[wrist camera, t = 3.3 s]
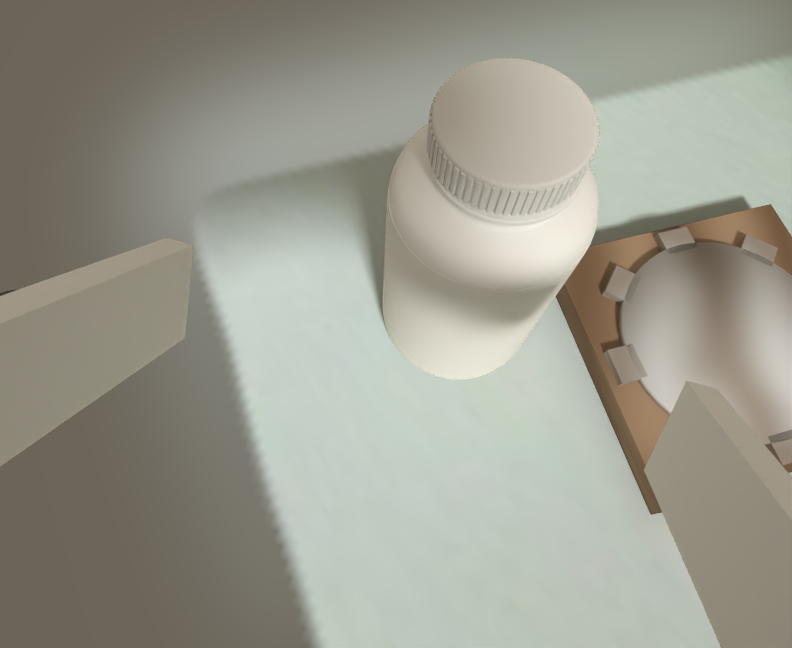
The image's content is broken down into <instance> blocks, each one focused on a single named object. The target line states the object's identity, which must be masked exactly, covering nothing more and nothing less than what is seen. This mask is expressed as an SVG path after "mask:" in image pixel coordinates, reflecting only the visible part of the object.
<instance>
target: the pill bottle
mask: <svg viewBox="0 0 792 648" xmlns="http://www.w3.org/2000/svg"><path fill="white" fill-rule="evenodd" d="M599 136H600V132H599V125H598V119H597V116H596V113H595V110H594V108H593V105H592V104H591V102H590V100H589V98H588V97H587V96H586V94H585V93H584V92H583V91H582V89H581V88H580V87H579V86H578V85H577V84H576V83H574V82H573V81H572V80H571V79H570V78H568V77H567V76H565V75H564V74H562V73H561V72H559V71H557V70H555V69H553V68H551V67H548V66H546V65H543V64H540V63H537V62H534V61H529V60H524V59H517V58H497V59H490V60H485V61H481V62H478V63H475V64H472V65H470V66H467V67H465V68H464V69H462V70H460V71H459V72H457V73H456V74H454V75H453V76H452V77H451V78H449V80H448V81H446V82H445V83H444V85H443V86H442V87H441V88H440V91H438V92H437V94H436V97H435V98H434V100H433V103H432V106H431V110H430V117H429V124H427V125H426V126H425V127H423V128H422V129H421V130H420V131H418V132H417V133H416V134H415V135H414V136H413V137H412V139H411V140H410V141H409V142H408V143H407V145H406V146H405V147H404V149H403V150H402V152H401V154H400V155H399V157H398V159H397V161H396V163H395V165H394V167H393V170H392V172H391V176H390V180H389V185H388V194H387V212H386V236H385V259H384V282H383V316H384V321H385V325H386V329H387V332H388V334H389V336H390V339H391V340H392V342H393V344H394V345H395V347H396V348H397V350H398V351H399V352H400V353H401V354H402V356H403V357H404V358H405V359H407V360H408V361H409V362H410V363H411V364H413V365H414V366H416V367H417V368H419V369H421V370H422V371H424V372H427V373H429V374H431V375H434V376H437V377H441V378H447V379H470V378H476V377H479V376H483V375H485V374H488V373H490V372H492V371H494V370H496V369H497V368H499V367H500V366H502V365H503V364H504V363H506V362H507V361H508V360H509V359H510V358H511V357H512V356H513V355H514V354H515V353H516V352H517V351H518V349H519V348H520V346H521V345H522V344H523V342H524V341H525V339H526V338H527V336H528V335H529V334H530V332H531V331H532V329H533V328H534V326H535V325H536V323H537V322H538V321H539V319H540V318H541V316H542V315H543V313H544V312H545V311H546V309H547V308H548V306H549V305H550V303H551V302H552V301H553V299H554V298H555V296H556V295H557V293H558V292H559V291H560V289H561V288H562V286H563V285H564V283H565V282H566V280H567V279H568V278H569V276H570V275H571V273H572V272H573V270H574V269H575V268H576V266H577V265H578V263H579V262H580V260H581V259H582V257H583V256H584V254H585V253H586V251H587V249H588V247H589V245H590V243H591V241H592V239H593V236H594V234H595V230H596V226H597V220H598V211H599V198H598V189H597V184H596V181H595V177H594V174H593V172H592V169H591V167H590V164H591V162H592V160H593V158H594V156H595V154H596V150H597V148H598V143H599Z"/></svg>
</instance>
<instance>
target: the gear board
mask: <svg viewBox="0 0 792 648" xmlns="http://www.w3.org/2000/svg"><path fill="white" fill-rule="evenodd" d="M556 297H557V299H558V302H559V304H560V306H561V309H562V311H563V313H564V316H565V318H566V320H567V322H568V325H569V327H570V329H571V332H572V334H573V336H574V338H575V341H576V343H577V345H578V348H579V350H580V352H581V355H582V357H583V359H584V361H585V364H586V366H587V368H588V371H589V373H590V375H591V378H592V380H593V382H594V384H595V387H596V389H597V391H598V394H599V396H600V398H601V401H602V403H603V405H604V407H605V410H606V412H607V414H608V417H609V419H610V421H611V423H612V426H613V428H614V430H615V433H616V435H617V437H618V440H619V442H620V444H621V446H622V449H623V451H624V453H625V456H626V458H627V460H628V463H629V465H630V467H631V469H632V472H633V474H634V476H635V479H636V481H637V483H638V485H639V488H640V490H641V492H642V495H643V497H644V499H645V502H646V504H647V506H648V508H649V511H650V513H651V514H656V513H661V512H662V511H661V508H660V506H659V504H658V501H657V499H656V497H655V494H654V492H653V490H652V488H651V485H650V483H649V481H648V478H647V476H646V474H645V472H644V469H645V467H646V464H647V462H648V460H649V458H650V456H651V454H652V452H653V450H654V448H655V446H656V443H657V441H658V439H659V437H660V435H661V433H662V431H663V429H664V427H665V425H666V422H667V420H668V418H669V416H670V414H671V412H672V410H673V408H674V406H675V403H676V401H677V399H678V397H679V395H680V393H681V391H682V389H683V387H684V385H685V382H686V380H687V381H690V382H694V383H698V384H701V385H705V386H708V387H712V388H716V389H718V390H719V392H720V393H721V394H722V395H723V396H724V398H725V399H726V400H727V401H728V402H729V403H730V405H731V406H732V407H733V408H734V409H735V411H736V412H737V413H738V414H739V415H740V416H741V418H742V419H743V420H744V421H745V422H746V424H747V425H748V426H749V427H750V428H751V429H752V431H753V432H754V433H755V434H756V435H757V437H758V438H759V439H760V440H761V441H762V442H763V444H764V445H765V446H766V447H767V448H768V450H769V451H770V452H771V453H772V454H773V455H774V457H775V458H776V459H777V460H778V461H779V463H780V464H781V465H782V466H783V467H784V468H785V470H786V471H787V472H788V473H790V472H792V236H791V235H790V233H789V232H788V230H787V229H786V227H785V226H784V224H783V222H782V221H781V219H780V218H779V216H778V215H777V213H776V212H775V210H774V209H773V207H772V205H771V204H770V205H765V206H761V207H757V208H752V209H748V210H744V211H740V212H735V213H731V214H727V215H722V216H718V217H714V218H710V219H705V220H701V221H697V222H693V223H688V224H684V225H680V226H675V227H671V228H667V229H663V230H658V231H654V232H650V233H645V234H641V235H637V236H633V237H628V238H624V239H620V240H615V241H611V242H607V243H603V244H598V245H594V246H590V247H588V249H587V251H586V253H585V254H584V256H583V257H582V259H581V260H580V262H579V263H578V265H577V266H576V268H575V269H574V270H573V272H572V273H571V275H570V276H569V278H568V279H567V280H566V282H565V283H564V285H563V286H562V288H561V289H560V291H559V292H558V293H557V295H556Z"/></svg>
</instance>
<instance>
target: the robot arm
mask: <svg viewBox="0 0 792 648" xmlns="http://www.w3.org/2000/svg"><path fill="white" fill-rule="evenodd" d="M193 247H194V245H191V244H188V243H184V242H180V241H177V240H173V239H170V238H165V239H162V240H159V241H156V242H153V243H150V244H148V245H145V246H142V247H139V248H136V249H133V250H130V251H127V252H125V253H122V254H119V255H116V256H113V257H110V258H107V259H105V260H102V261H99V262H96V263H93V264H90V265H87V266H85V267H82V268H79V269H76V270H73V271H70V272H67V273H65V274H62V275H59V276H56V277H53V278H50V279H47V280H45V281H42V282H39V283H36V284H33V285H31V286H28V287H25V288H22V289H19V290H11V291H6V292H3V293H1V294H0V466H1V465H3V464H4V463H6V462H7V461H8V460H10V459H11V458H13V457H14V456H16V455H17V454H18V453H20V452H21V451H23V450H24V449H26V448H27V447H29V446H30V445H31V444H33V443H34V442H36V441H37V440H39V439H40V438H42V437H43V436H44V435H46V434H47V433H49V432H50V431H51V430H53V429H54V428H56V427H57V426H59V425H60V424H62V423H63V422H64V421H66V420H67V419H69V418H70V417H72V416H73V415H75V414H76V413H77V412H79V411H80V410H82V409H83V408H85V407H86V406H87V405H89V404H90V403H92V402H93V401H94V400H96V399H97V398H99V397H100V396H102V395H103V394H105V393H106V392H107V391H109V390H111V389H112V388H113V387H115V386H116V385H118V384H119V383H121V382H122V381H123V380H125V379H126V378H128V377H129V376H131V375H132V374H134V373H135V372H136V371H138V370H139V369H141V368H142V367H143V366H145V365H146V364H148V363H149V362H151V361H152V360H154V359H155V358H156V357H158V356H159V355H161V354H162V353H164V352H165V351H167V350H168V349H169V348H171V347H172V346H174V345H175V344H177V343H178V342H179V341H181V340H182V339H184V338H185V329H186V318H187V308H188V298H189V288H190V278H191V268H192V258H193ZM644 472H645V474H646V476H647V478H648V481H649V483H650V485H651V488H652V490H653V492H654V494H655V497H656V499H657V501H658V504H659V506H660V508H661V511H662V513H663V515H664V517H665V520H666V522H667V524H668V527H669V529H670V531H671V533H672V536H673V538H674V540H675V543H676V545H677V547H678V550H679V552H680V554H681V556H682V559H683V561H684V563H685V566H686V568H687V570H688V572H689V575H690V577H691V579H692V582H693V584H694V586H695V589H696V591H697V593H698V595H699V598H700V600H701V602H702V605H703V607H704V609H705V611H706V614H707V616H708V618H709V621H710V623H711V625H712V628H713V630H714V632H715V634H716V637H717V639H718V641H719V644H720V646H721V648H792V477H791V476H790V474H789V473H788V472H787V471H786V470H785V468H784V467H783V466H782V465H781V464H780V463H779V461H778V460H777V459H776V458H775V457H774V455H773V454H772V453H771V452H770V451H769V450H768V448H767V447H766V446H765V445H764V444H763V442H762V441H761V440H760V439H759V438H758V437H757V435H756V434H755V433H754V432H753V431H752V429H751V428H750V427H749V426H748V425H747V424H746V422H745V421H744V420H743V419H742V418H741V416H740V415H739V414H738V413H737V412H736V411H735V409H734V408H733V407H732V406H731V405H730V403H729V402H728V401H727V400H726V399H725V398H724V396H723V395H722V394H721V393H720V392H719V390H718V389H716V388H712V387H708V386H705V385H701V384H698V383H694V382H690V381H687V380H686V382H685V385H684V387H683V389H682V391H681V393H680V395H679V397H678V399H677V401H676V403H675V406H674V408H673V410H672V412H671V414H670V416H669V418H668V420H667V422H666V425H665V427H664V429H663V431H662V433H661V435H660V437H659V439H658V441H657V443H656V446H655V448H654V450H653V452H652V454H651V456H650V458H649V460H648V462H647V464H646V467H645V469H644Z"/></svg>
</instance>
